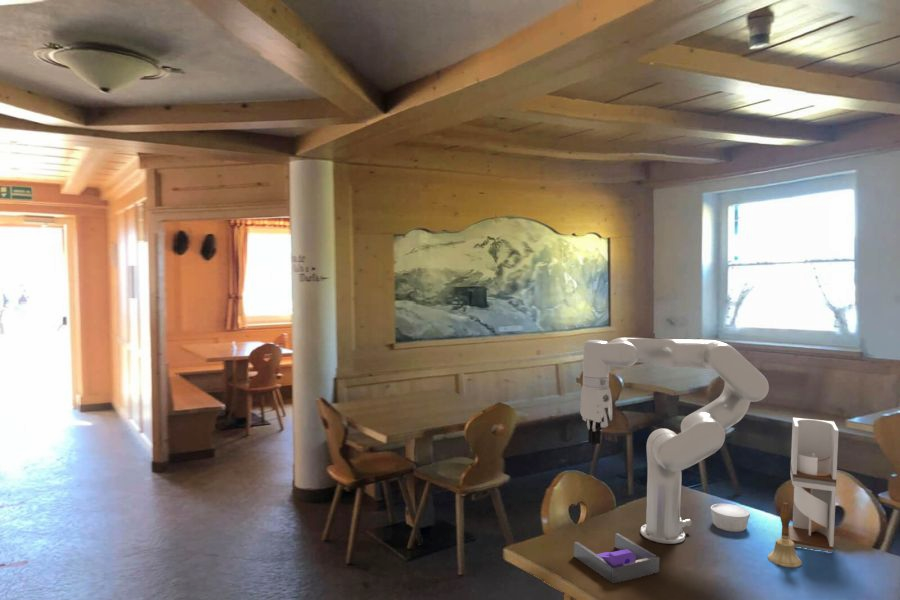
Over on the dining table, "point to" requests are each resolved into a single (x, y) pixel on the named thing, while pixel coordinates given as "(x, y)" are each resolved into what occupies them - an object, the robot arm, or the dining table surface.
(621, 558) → the bracket
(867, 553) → the dining table surface
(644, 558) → the tray
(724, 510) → the ramekin
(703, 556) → the dining table surface
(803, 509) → the display case
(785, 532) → the hand bell
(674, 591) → the dining table surface
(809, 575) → the dining table surface
